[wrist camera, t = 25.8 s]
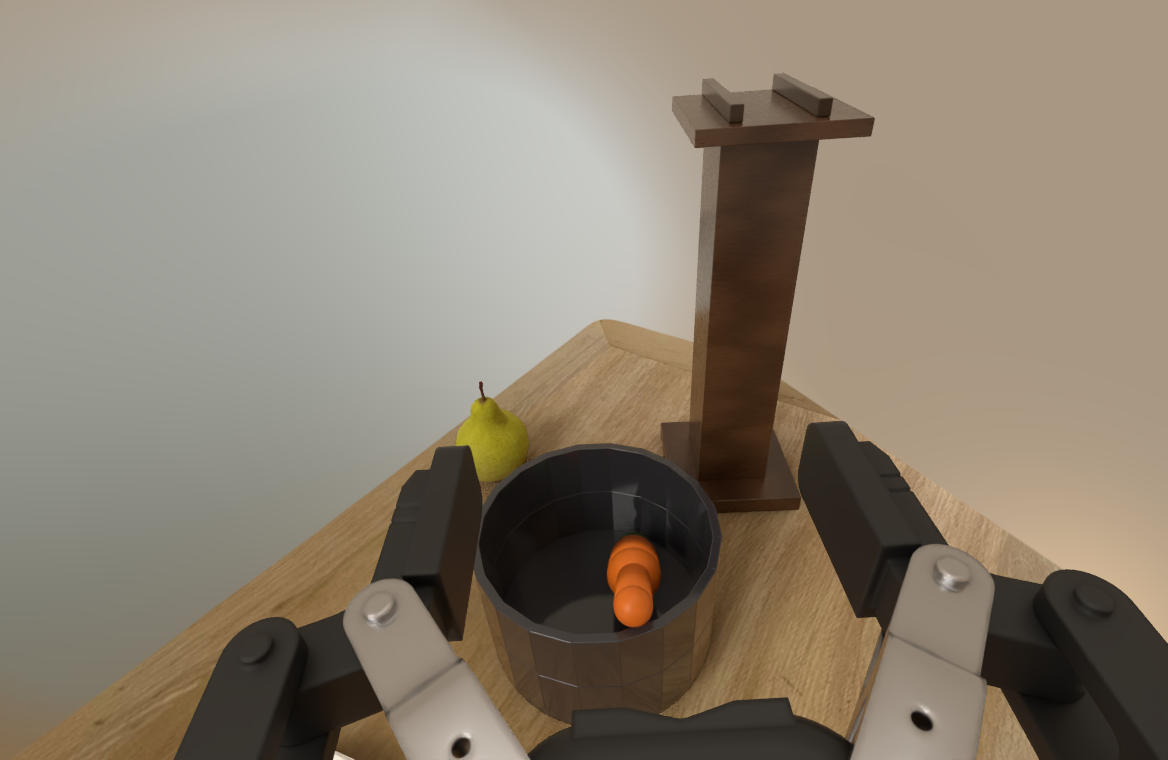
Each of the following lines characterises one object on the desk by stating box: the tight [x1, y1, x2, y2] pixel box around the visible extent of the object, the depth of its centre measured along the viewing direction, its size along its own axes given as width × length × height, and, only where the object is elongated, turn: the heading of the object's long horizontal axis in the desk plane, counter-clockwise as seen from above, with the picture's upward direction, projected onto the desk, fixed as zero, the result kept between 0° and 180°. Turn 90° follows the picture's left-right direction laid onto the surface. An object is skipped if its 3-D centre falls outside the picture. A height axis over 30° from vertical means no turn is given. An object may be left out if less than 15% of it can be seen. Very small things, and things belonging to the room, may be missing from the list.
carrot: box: [607, 532, 661, 627], centre depth 39 cm, size 4×16×4 cm
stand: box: [661, 73, 875, 512], centre depth 46 cm, size 11×11×33 cm
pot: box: [474, 443, 722, 725], centre depth 41 cm, size 16×16×10 cm
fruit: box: [456, 382, 529, 482], centre depth 53 cm, size 7×7×12 cm
